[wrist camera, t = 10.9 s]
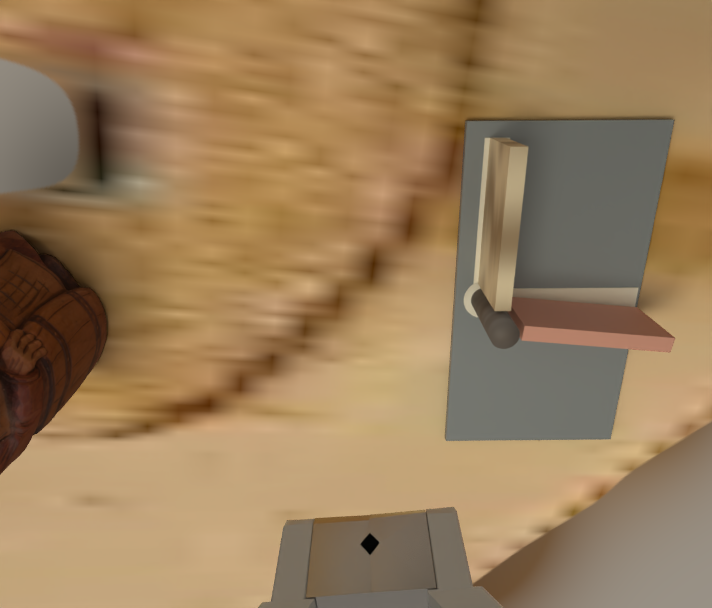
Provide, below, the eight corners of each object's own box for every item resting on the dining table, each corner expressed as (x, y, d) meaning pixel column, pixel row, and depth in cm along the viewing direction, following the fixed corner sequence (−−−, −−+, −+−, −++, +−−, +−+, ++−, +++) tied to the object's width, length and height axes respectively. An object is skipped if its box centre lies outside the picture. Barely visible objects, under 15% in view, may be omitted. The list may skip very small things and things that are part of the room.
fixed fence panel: (483, 137, 35) (507, 149, 30) (511, 137, 35) (541, 148, 30) (469, 311, 40) (489, 349, 34) (495, 310, 40) (518, 348, 34)
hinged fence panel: (501, 309, 39) (521, 340, 34) (504, 296, 39) (524, 325, 34) (632, 320, 40) (670, 352, 35) (636, 307, 39) (675, 338, 34)
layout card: (465, 120, 35) (467, 121, 35) (670, 119, 35) (675, 119, 35) (444, 436, 44) (446, 441, 44) (607, 435, 44) (610, 440, 44)
